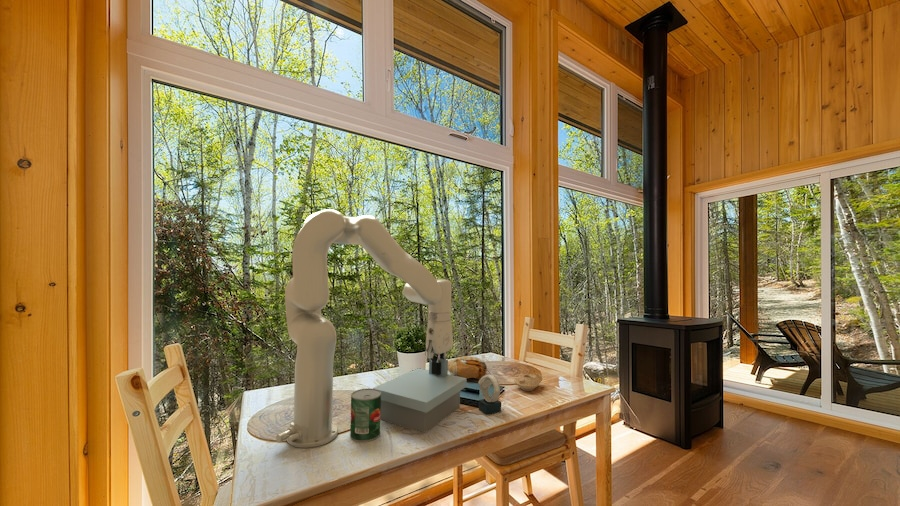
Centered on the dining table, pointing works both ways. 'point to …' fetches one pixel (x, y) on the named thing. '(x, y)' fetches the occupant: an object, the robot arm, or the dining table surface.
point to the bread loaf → (468, 367)
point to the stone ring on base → (489, 403)
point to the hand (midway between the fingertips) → (438, 372)
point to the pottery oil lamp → (528, 381)
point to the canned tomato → (365, 415)
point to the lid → (422, 388)
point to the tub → (419, 414)
